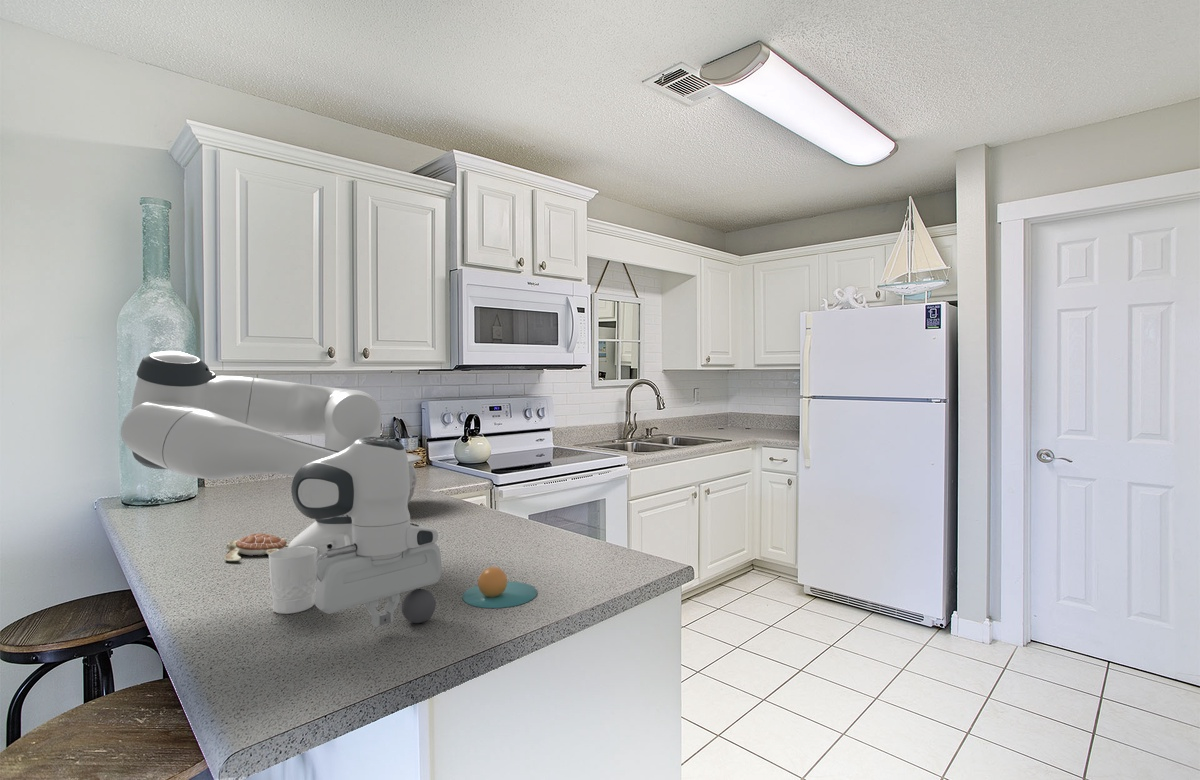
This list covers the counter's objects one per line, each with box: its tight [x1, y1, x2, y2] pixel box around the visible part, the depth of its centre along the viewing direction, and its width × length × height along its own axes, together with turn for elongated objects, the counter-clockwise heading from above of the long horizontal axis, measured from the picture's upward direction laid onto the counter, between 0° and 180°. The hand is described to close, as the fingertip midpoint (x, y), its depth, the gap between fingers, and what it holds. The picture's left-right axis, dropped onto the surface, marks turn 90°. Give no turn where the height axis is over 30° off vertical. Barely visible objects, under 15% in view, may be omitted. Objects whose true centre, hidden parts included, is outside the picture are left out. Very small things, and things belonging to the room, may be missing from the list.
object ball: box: [477, 566, 508, 597], centre depth 114 cm, size 6×6×6 cm
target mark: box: [461, 580, 538, 609], centre depth 115 cm, size 14×14×1 cm
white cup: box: [268, 546, 318, 615], centre depth 109 cm, size 8×8×10 cm
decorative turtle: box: [224, 532, 290, 562], centre depth 145 cm, size 18×17×5 cm
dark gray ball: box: [401, 588, 437, 624], centre depth 102 cm, size 6×6×6 cm
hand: (382, 624), depth 97 cm, fingers closed
